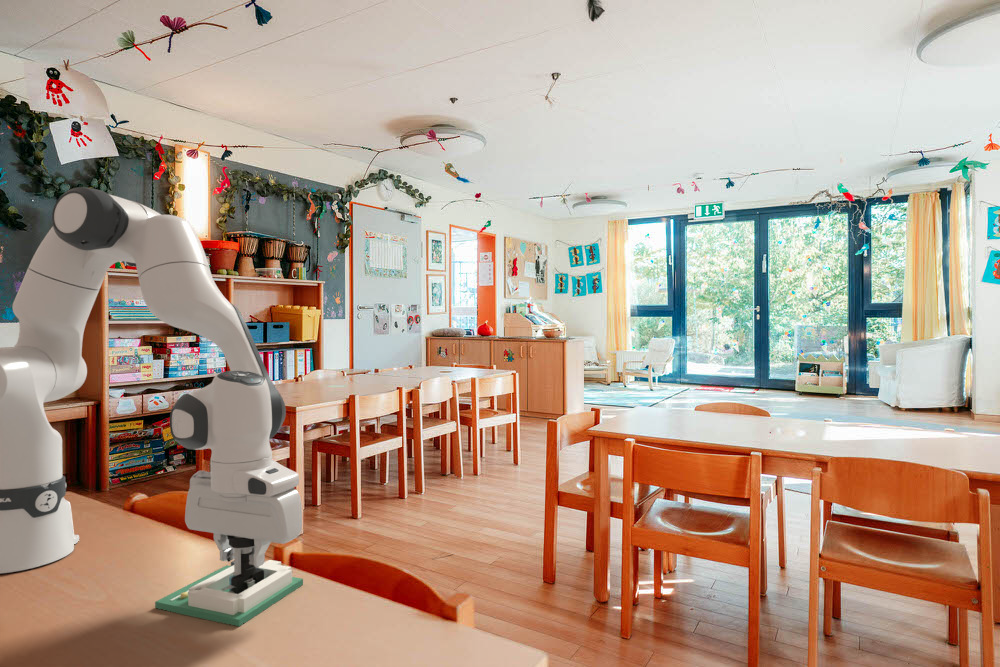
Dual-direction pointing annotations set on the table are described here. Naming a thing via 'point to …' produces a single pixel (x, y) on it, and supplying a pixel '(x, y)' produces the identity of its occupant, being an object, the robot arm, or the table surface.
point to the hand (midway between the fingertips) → (242, 562)
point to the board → (221, 616)
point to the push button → (243, 565)
